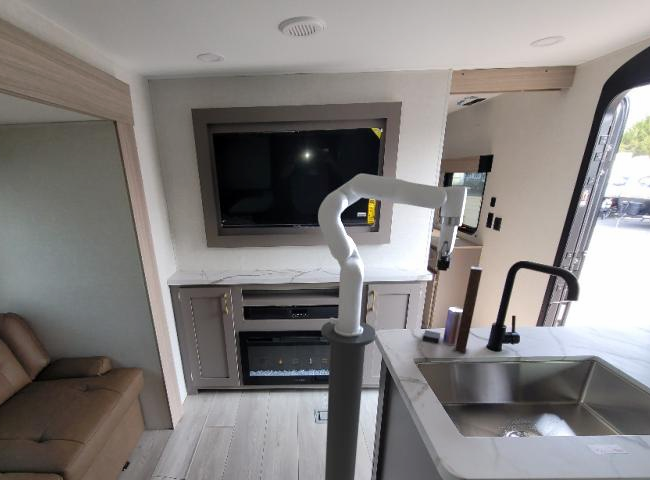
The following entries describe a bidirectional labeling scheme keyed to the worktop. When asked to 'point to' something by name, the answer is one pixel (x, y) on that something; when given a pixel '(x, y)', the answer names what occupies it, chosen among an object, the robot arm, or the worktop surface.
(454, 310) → the beverage can
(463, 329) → the walnut post
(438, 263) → the small pad
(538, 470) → the worktop surface
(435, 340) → the wide pad
